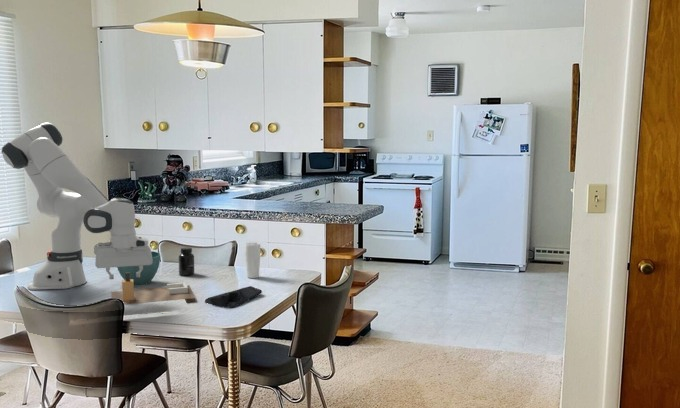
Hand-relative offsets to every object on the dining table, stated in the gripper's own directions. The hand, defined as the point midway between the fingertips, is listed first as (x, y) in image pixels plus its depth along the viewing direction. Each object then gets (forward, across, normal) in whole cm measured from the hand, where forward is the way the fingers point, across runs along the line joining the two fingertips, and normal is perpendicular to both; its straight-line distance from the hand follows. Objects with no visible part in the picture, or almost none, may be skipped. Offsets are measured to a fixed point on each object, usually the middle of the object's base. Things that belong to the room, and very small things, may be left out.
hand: (125, 278), depth 233 cm
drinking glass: (+10, +53, +26) cm, 60 cm away
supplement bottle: (+10, +26, +40) cm, 49 cm away
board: (+10, +10, +4) cm, 14 cm away
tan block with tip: (+8, +1, +1) cm, 8 cm away
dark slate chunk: (+10, +40, -6) cm, 42 cm away
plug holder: (+8, +19, +7) cm, 22 cm away
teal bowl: (+10, +5, +30) cm, 32 cm away
